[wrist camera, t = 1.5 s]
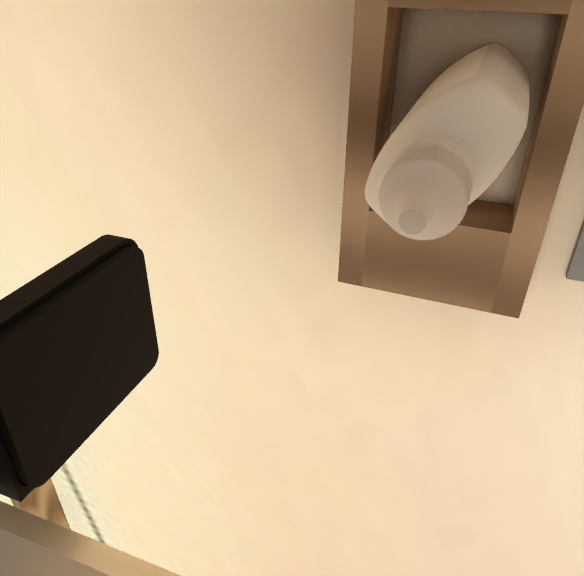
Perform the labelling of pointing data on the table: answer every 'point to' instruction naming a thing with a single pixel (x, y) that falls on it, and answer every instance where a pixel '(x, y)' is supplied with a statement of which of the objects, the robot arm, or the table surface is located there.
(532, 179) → the frame
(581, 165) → the table surface
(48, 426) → the robot arm
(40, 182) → the table surface
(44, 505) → the box frame
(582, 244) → the rubber pad
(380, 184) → the eye dropper bottle
